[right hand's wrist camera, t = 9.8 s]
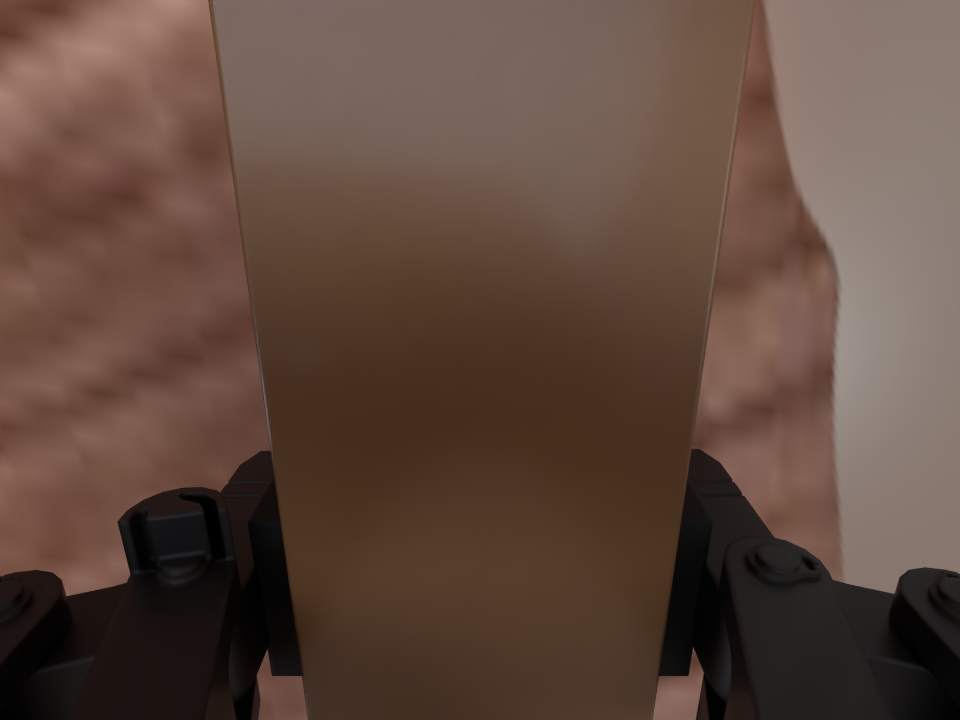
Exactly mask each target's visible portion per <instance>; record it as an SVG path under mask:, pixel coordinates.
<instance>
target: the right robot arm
mask: <svg viewBox="0 0 960 720" xmlns="http://www.w3.org/2000/svg"><path fill="white" fill-rule="evenodd" d="M118 526H119V530H120V534H121V538H122V542H123V546H124V550H125V554H126V558H127V562H128V566H129V570H130V577H129V579H128V581H127V583H124V584H121V585H117V586H113V587H109V588H104V589H100V590H95V591H90V592H85V593H81V594H76V595H71V596H66V593H65V590H64V586H63V583H62V580H61V579H60V578H59V577H57V576H56V575H55V574H54V573H52V572H46V571H39V570H32V571H24V572H15V573H12V574H7V575H4V576H2V577H1V576H0V720H258V717H259V708H260V694H259V687H258V681H257V676H256V675H257V673H258V670H259V668H260V666H261V663H262V661H263V658H264V656H265V653H266V651H267V648H268V654H269V660H270V667H271V673H272V676H302V672H301V665H300V658H299V650H298V643H297V636H296V629H295V622H294V614H293V607H292V600H291V593H290V585H289V578H288V571H287V564H286V557H285V549H284V542H283V535H282V528H281V521H280V513H279V506H278V499H277V492H276V485H275V477H274V470H273V463H272V456H271V451H260V452H259V453H257V454H256V455H255V456H253V457H252V458H250V459H249V460H247V461H246V462H244V463H243V464H241V465H240V466H239V468H238V469H237V470H236V472H235V473H234V474H233V476H232V477H231V479H230V480H229V484H226V486H225V487H224V488H223V490H222V491H221V493H219V492H218V491H216V490H212V489H208V488H204V487H192V488H180V489H175V490H170V491H166V492H162V493H160V494H157V495H155V496H152V497H149V498H147V499H144V500H143V501H141V502H139V503H138V504H136V505H135V506H133V507H132V508H130V509H129V510H127V511H126V513H125V514H124V515H123V516H122V517H121V518H120V520H119V521H118ZM693 647H694V649H695V652H696V654H697V657H698V659H699V662H700V664H701V666H702V669H703V671H704V676H703V681H702V687H701V693H700V699H699V705H698V711H697V716H696V720H960V574H958V573H957V572H953V571H948V570H943V569H934V568H926V567H925V568H918V569H912V570H908V571H907V572H906V573H904V574H903V575H902V576H901V577H900V578H899V581H898V585H897V588H896V591H895V594H892V593H887V592H883V591H878V590H873V589H868V588H864V587H859V586H854V585H849V584H846V583H842V582H838V581H835V580H832V578H831V576H830V573H829V572H828V571H827V569H826V568H825V567H824V565H823V564H822V562H821V561H820V560H819V559H817V558H816V557H815V556H813V555H812V554H811V553H809V552H808V551H807V550H805V549H803V548H801V547H799V546H797V545H794V544H792V543H790V542H788V541H785V540H781V539H777V538H774V536H773V535H772V534H771V532H770V531H769V530H768V528H767V527H766V525H765V524H764V523H763V521H762V520H761V518H760V517H759V516H758V514H757V513H756V512H755V510H754V509H753V507H752V506H751V505H750V503H749V502H748V501H747V499H746V498H745V496H742V492H741V491H740V489H739V488H738V487H737V485H736V484H735V483H734V482H732V478H731V477H730V476H729V474H728V473H727V472H726V470H725V469H724V467H723V466H722V465H721V463H720V462H718V461H717V460H715V459H714V458H712V457H711V456H709V455H708V454H706V453H704V452H703V451H701V450H700V449H691V456H690V463H689V470H688V477H687V484H686V490H685V497H684V504H683V511H682V518H681V525H680V532H679V539H678V546H677V553H676V560H675V567H674V574H673V581H672V588H671V595H670V602H669V609H668V616H667V623H666V630H665V637H664V644H663V651H662V658H661V664H660V671H659V676H688V675H689V669H690V663H691V656H692V650H693Z"/></svg>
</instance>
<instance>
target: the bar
mask: <svg viewBox="0 0 960 720" xmlns="http://www.w3.org/2000/svg"><path fill="white" fill-rule="evenodd" d="M208 1H209V8H210V16H211V23H212V30H213V37H214V44H215V52H216V59H217V66H218V73H219V81H220V88H221V95H222V102H223V109H224V117H225V124H226V131H227V138H228V145H229V153H230V160H231V167H232V174H233V182H234V189H235V196H236V203H237V210H238V218H239V225H240V232H241V239H242V246H243V254H244V261H245V268H246V275H247V283H248V290H249V297H250V304H251V311H252V319H253V326H254V333H255V340H256V347H257V355H258V362H259V369H260V376H261V384H262V391H263V398H264V405H265V412H266V420H267V427H268V434H269V441H270V448H271V456H272V463H273V470H274V477H275V485H276V492H277V499H278V506H279V513H280V521H281V528H282V535H283V542H284V549H285V557H286V564H287V571H288V578H289V585H290V593H291V600H292V607H293V614H294V622H295V629H296V636H297V643H298V650H299V658H300V665H301V672H302V679H303V686H304V694H305V701H306V708H307V715H308V720H653V713H654V706H655V699H656V692H657V685H658V678H659V671H660V664H661V658H662V651H663V644H664V637H665V630H666V623H667V616H668V609H669V602H670V595H671V588H672V581H673V574H674V567H675V560H676V553H677V546H678V539H679V532H680V525H681V518H682V511H683V504H684V497H685V490H686V484H687V477H688V470H689V463H690V456H691V449H692V442H693V435H694V428H695V421H696V414H697V407H698V400H699V393H700V386H701V379H702V372H703V365H704V358H705V351H706V344H707V337H708V330H709V323H710V316H711V310H712V303H713V296H714V289H715V282H716V275H717V268H718V261H719V254H720V247H721V240H722V233H723V226H724V219H725V212H726V205H727V198H728V191H729V184H730V177H731V170H732V163H733V156H734V149H735V142H736V136H737V129H738V122H739V115H740V108H741V101H742V94H743V87H744V80H745V73H746V66H747V59H748V52H749V45H750V38H751V31H752V24H753V17H754V10H755V3H756V0H208Z"/></svg>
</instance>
